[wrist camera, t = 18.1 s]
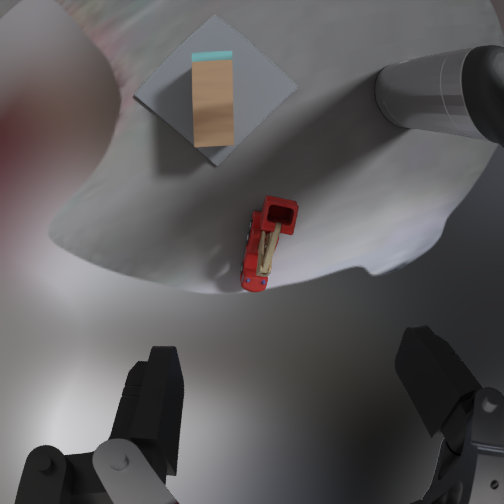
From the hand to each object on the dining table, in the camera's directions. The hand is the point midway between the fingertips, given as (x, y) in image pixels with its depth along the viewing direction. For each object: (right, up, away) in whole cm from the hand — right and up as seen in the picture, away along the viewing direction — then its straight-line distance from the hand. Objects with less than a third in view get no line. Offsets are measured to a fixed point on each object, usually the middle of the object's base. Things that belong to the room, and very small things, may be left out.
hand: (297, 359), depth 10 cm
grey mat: (-6, +23, +22) cm, 33 cm away
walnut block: (-5, +15, +22) cm, 27 cm away
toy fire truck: (0, +6, +31) cm, 31 cm away
